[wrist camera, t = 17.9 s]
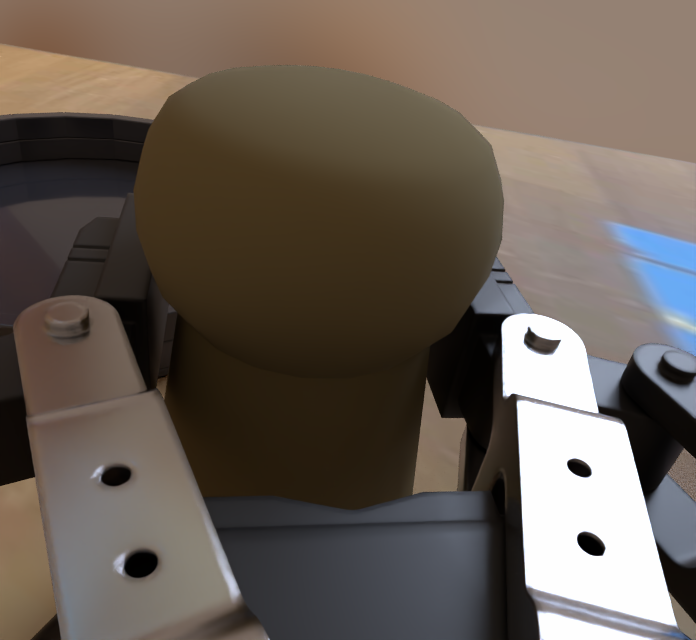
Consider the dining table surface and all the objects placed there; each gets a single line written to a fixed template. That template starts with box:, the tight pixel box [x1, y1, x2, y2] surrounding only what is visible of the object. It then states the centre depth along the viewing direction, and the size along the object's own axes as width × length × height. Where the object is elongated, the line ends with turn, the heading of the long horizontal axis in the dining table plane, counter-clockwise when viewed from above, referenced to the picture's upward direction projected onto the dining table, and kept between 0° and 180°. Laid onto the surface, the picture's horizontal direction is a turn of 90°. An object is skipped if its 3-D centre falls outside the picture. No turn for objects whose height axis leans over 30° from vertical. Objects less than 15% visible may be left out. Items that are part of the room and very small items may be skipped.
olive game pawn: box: [133, 65, 504, 510], centre depth 11 cm, size 6×6×11 cm
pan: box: [0, 112, 177, 377], centre depth 24 cm, size 17×17×2 cm
